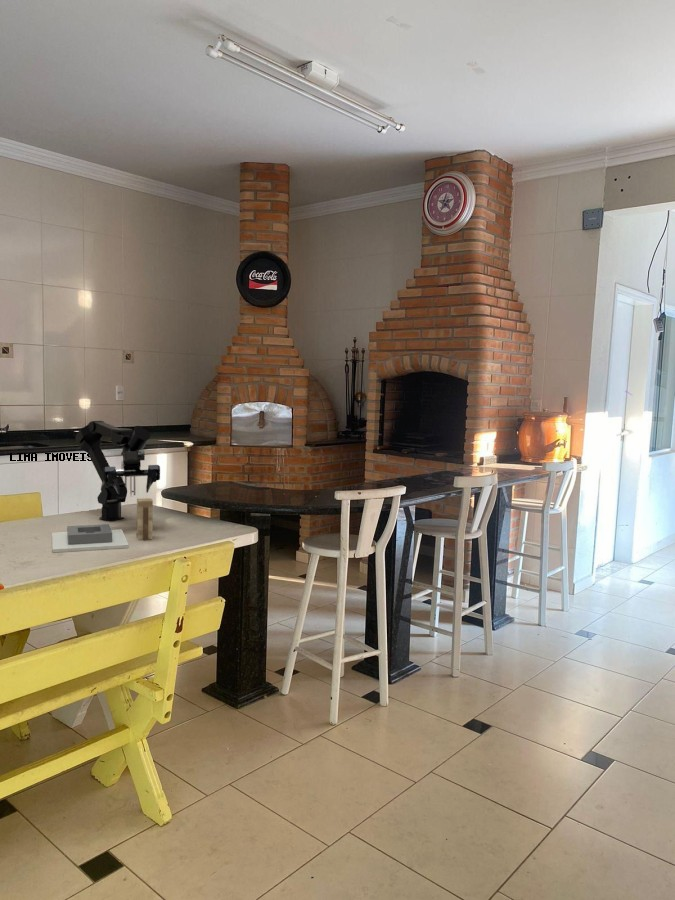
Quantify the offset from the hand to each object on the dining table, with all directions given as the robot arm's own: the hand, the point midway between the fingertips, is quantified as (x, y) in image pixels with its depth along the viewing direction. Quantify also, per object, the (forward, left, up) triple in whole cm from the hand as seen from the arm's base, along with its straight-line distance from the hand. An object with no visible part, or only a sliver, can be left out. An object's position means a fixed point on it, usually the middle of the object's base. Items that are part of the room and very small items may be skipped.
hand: (133, 492), depth 231 cm
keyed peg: (+2, +8, -14) cm, 16 cm away
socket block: (+17, -2, -14) cm, 22 cm away
